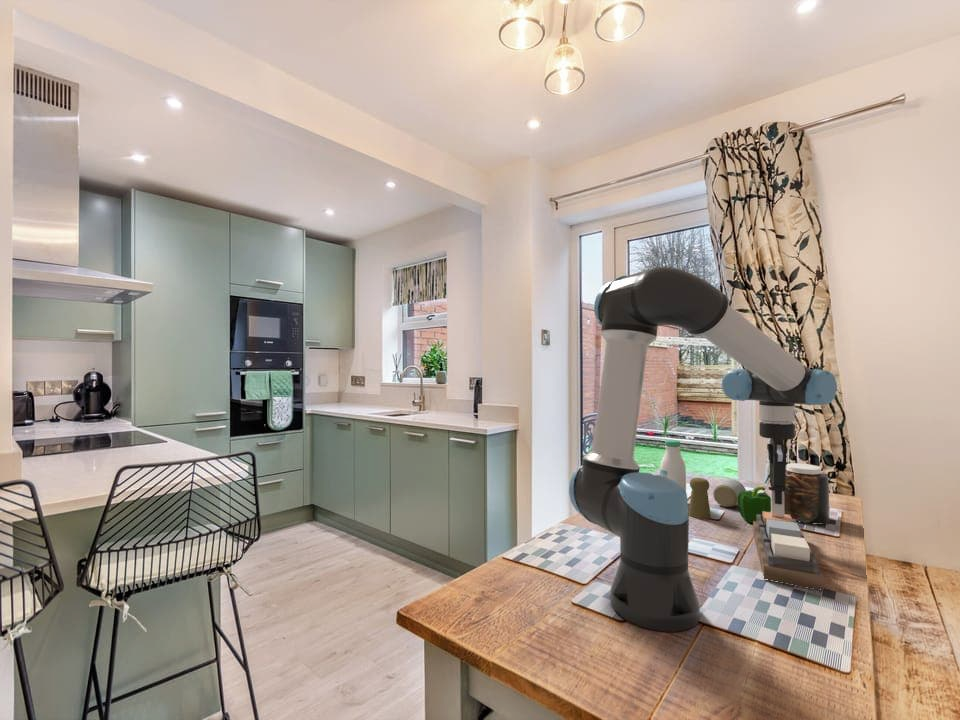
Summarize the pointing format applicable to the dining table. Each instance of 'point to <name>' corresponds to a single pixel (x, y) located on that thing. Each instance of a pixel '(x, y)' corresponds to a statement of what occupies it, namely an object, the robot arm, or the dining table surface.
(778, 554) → the cream block
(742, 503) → the bell pepper
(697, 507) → the pepper mill
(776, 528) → the slate block
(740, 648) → the dining table surface
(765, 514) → the terracotta block
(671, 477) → the milk bottle
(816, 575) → the block tray
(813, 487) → the jar
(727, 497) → the ceramic mug
